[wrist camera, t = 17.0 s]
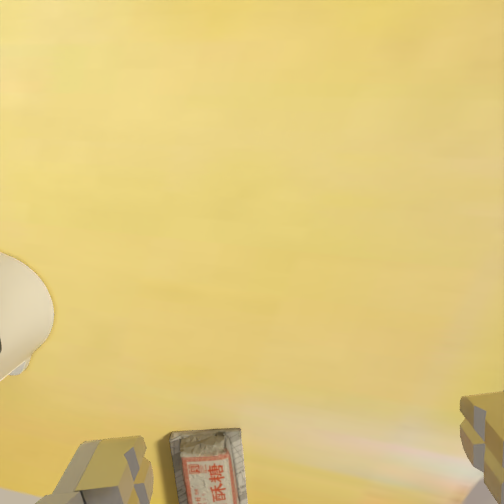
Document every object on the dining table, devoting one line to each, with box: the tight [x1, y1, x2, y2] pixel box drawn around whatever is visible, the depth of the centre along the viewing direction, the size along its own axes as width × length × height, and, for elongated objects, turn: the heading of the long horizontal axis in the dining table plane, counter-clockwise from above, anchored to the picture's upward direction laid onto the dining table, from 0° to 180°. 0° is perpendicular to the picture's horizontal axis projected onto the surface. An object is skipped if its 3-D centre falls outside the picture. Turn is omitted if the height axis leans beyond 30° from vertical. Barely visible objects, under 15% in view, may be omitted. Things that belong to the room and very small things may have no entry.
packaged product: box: [169, 428, 248, 504], centre depth 55 cm, size 18×5×10 cm
